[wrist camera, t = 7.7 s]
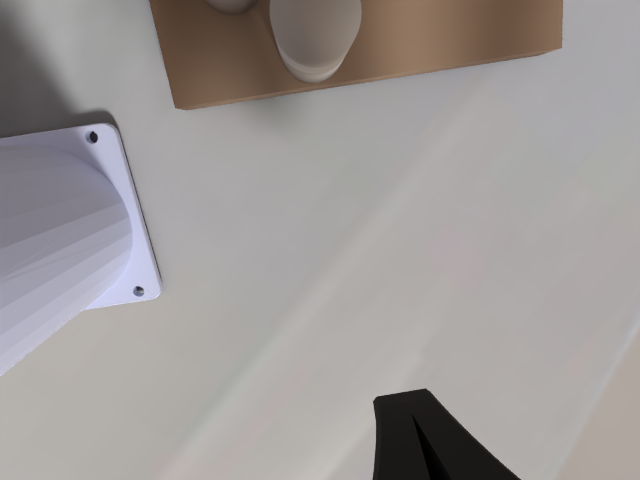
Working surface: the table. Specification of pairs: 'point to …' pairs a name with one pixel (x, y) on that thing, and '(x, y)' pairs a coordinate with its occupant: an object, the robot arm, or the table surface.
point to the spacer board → (370, 56)
